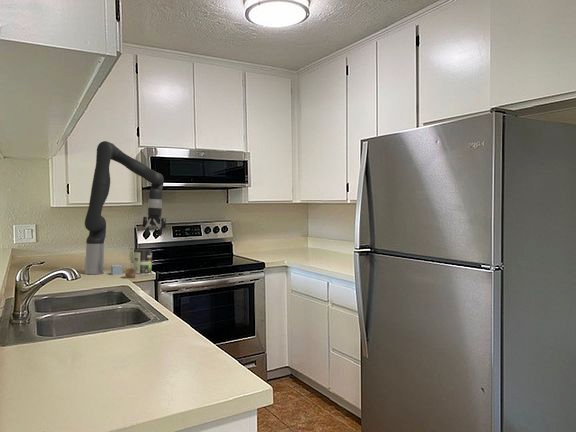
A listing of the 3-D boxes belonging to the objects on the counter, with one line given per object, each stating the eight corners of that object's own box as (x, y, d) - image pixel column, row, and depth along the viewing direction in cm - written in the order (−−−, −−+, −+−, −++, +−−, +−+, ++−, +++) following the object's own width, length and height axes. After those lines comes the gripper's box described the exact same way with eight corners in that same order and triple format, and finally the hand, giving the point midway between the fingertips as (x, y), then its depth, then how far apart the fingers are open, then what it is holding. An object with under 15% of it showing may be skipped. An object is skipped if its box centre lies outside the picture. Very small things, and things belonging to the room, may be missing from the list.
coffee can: (154, 272, 254) (154, 249, 254) (148, 275, 244) (148, 250, 244) (136, 272, 254) (137, 248, 254) (130, 274, 244) (130, 250, 244)
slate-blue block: (112, 275, 241) (112, 266, 241) (111, 273, 246) (111, 265, 245) (122, 274, 244) (122, 266, 244) (120, 273, 248) (120, 264, 248)
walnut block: (125, 278, 232) (125, 269, 232) (125, 277, 236) (126, 268, 236) (135, 278, 233) (135, 269, 233) (135, 276, 238) (135, 267, 238)
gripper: (140, 206, 245) (139, 234, 246) (161, 207, 240) (159, 236, 241) (149, 206, 252) (147, 234, 253) (169, 207, 247) (168, 236, 248)
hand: (153, 235), depth 247 cm, fingers open, 8 cm apart
